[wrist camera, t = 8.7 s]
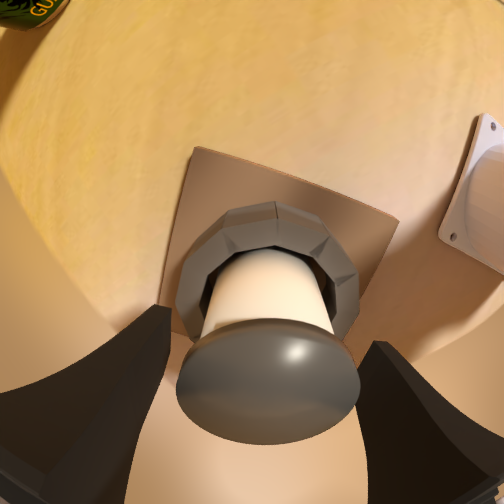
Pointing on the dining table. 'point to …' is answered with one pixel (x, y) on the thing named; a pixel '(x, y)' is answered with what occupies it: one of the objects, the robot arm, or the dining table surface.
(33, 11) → the green guarana soda can
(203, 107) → the dining table surface
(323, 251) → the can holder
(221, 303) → the grey-capped cream cylinder
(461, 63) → the dining table surface
